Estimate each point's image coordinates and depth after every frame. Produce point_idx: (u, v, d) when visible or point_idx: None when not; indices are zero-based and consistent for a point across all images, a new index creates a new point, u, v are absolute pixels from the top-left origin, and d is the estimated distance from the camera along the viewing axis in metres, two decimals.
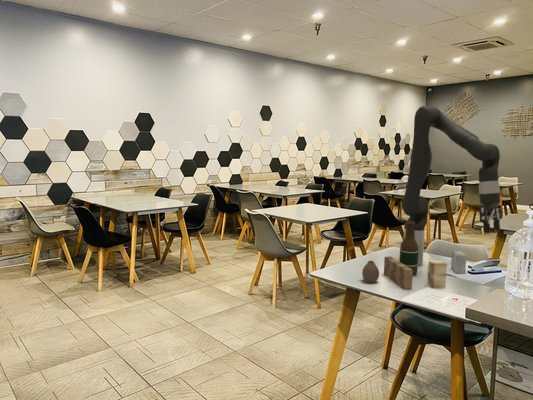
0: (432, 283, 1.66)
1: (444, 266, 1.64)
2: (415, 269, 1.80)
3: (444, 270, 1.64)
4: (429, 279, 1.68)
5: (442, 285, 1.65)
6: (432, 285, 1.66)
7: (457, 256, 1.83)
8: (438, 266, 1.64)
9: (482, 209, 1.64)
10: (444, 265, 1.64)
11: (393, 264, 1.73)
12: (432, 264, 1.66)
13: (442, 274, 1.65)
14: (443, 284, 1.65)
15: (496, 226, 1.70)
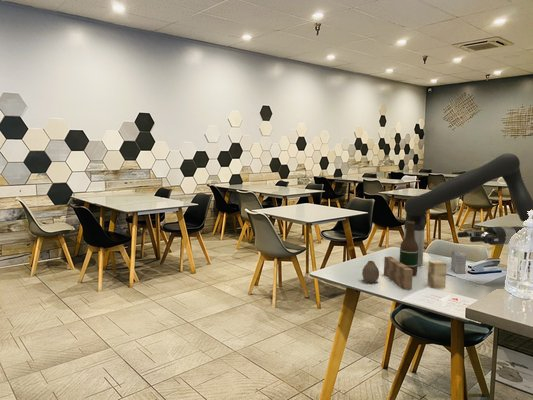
0: (432, 283, 1.66)
1: (444, 266, 1.64)
2: (415, 269, 1.80)
3: (444, 270, 1.64)
4: (429, 279, 1.68)
5: (442, 285, 1.65)
6: (432, 285, 1.66)
7: (457, 256, 1.83)
8: (438, 266, 1.64)
9: (497, 239, 1.61)
10: (444, 265, 1.64)
11: (393, 264, 1.73)
12: (432, 264, 1.66)
13: (442, 275, 1.65)
14: (443, 284, 1.65)
15: (461, 234, 1.70)
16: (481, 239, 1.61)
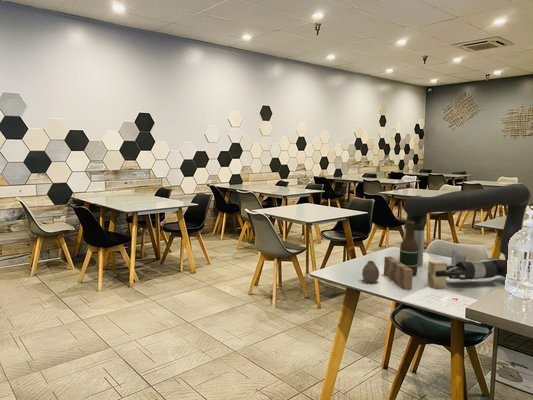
0: (432, 283, 1.66)
1: (444, 266, 1.64)
2: (415, 269, 1.80)
3: (444, 270, 1.64)
4: (429, 279, 1.68)
5: (443, 284, 1.65)
6: (432, 285, 1.66)
7: (457, 256, 1.83)
8: (438, 266, 1.64)
9: (463, 276, 1.61)
10: (444, 265, 1.64)
11: (393, 264, 1.73)
12: (432, 264, 1.66)
13: None
14: (443, 284, 1.65)
15: None
16: (445, 274, 1.63)
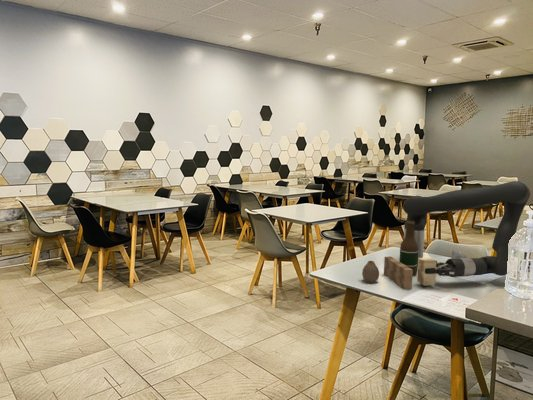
0: (422, 280, 1.65)
1: (433, 263, 1.63)
2: (415, 269, 1.80)
3: (434, 267, 1.64)
4: (419, 276, 1.67)
5: (432, 282, 1.64)
6: (422, 282, 1.65)
7: (457, 256, 1.83)
8: (427, 263, 1.63)
9: (452, 273, 1.60)
10: (434, 262, 1.63)
11: (393, 264, 1.73)
12: (422, 261, 1.65)
13: None
14: (433, 281, 1.64)
15: None
16: (435, 271, 1.62)
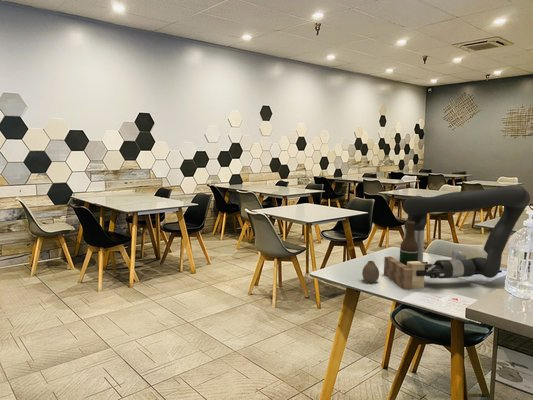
0: None
1: (422, 267, 1.63)
2: None
3: None
4: None
5: (421, 285, 1.64)
6: None
7: (457, 256, 1.83)
8: (416, 267, 1.62)
9: (443, 274, 1.60)
10: (422, 266, 1.63)
11: (393, 264, 1.73)
12: (410, 265, 1.64)
13: None
14: (421, 285, 1.64)
15: None
16: (427, 273, 1.60)
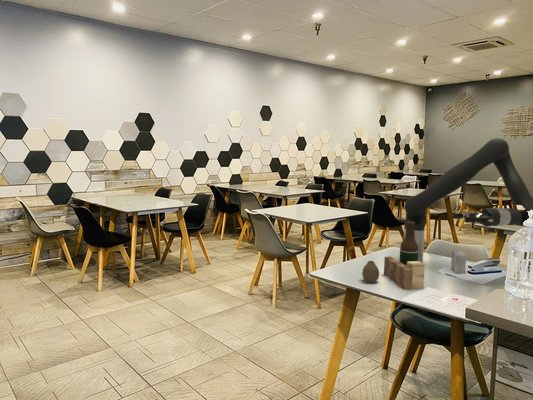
0: None
1: (422, 267, 1.63)
2: None
3: (422, 271, 1.63)
4: None
5: (421, 285, 1.64)
6: None
7: (457, 256, 1.83)
8: (416, 267, 1.62)
9: (491, 220, 1.61)
10: (422, 266, 1.63)
11: (393, 264, 1.73)
12: (410, 265, 1.64)
13: (420, 275, 1.63)
14: (421, 285, 1.64)
15: (456, 215, 1.71)
16: (476, 219, 1.62)
